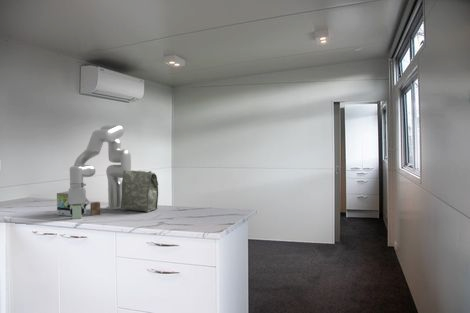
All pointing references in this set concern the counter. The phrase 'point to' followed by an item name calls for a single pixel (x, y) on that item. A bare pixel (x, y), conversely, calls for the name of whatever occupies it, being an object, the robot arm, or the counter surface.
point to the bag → (139, 191)
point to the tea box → (63, 208)
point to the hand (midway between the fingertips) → (77, 214)
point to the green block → (76, 211)
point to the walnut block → (95, 208)
